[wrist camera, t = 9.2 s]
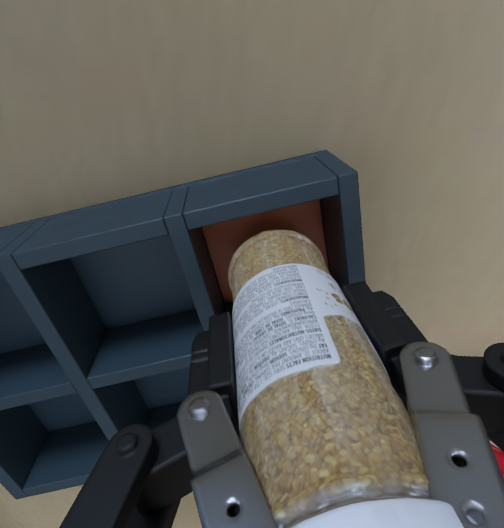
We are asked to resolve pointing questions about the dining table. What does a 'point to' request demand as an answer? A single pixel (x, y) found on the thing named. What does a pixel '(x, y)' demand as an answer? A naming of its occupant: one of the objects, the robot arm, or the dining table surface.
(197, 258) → the compartment organizer tray
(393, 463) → the spice jar
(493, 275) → the dining table surface
